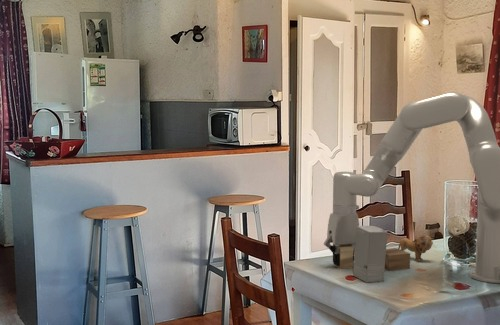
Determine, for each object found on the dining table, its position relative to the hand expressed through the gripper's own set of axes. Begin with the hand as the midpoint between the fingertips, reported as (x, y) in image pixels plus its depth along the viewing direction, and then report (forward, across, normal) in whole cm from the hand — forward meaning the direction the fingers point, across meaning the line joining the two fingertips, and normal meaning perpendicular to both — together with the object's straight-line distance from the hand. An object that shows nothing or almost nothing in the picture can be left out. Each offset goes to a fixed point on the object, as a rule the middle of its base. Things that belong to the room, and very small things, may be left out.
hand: (343, 263), depth 198 cm
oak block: (+1, 0, 0) cm, 1 cm away
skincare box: (+1, 0, +15) cm, 15 cm away
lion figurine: (+1, -28, 0) cm, 28 cm away
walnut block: (+1, -15, +6) cm, 16 cm away
